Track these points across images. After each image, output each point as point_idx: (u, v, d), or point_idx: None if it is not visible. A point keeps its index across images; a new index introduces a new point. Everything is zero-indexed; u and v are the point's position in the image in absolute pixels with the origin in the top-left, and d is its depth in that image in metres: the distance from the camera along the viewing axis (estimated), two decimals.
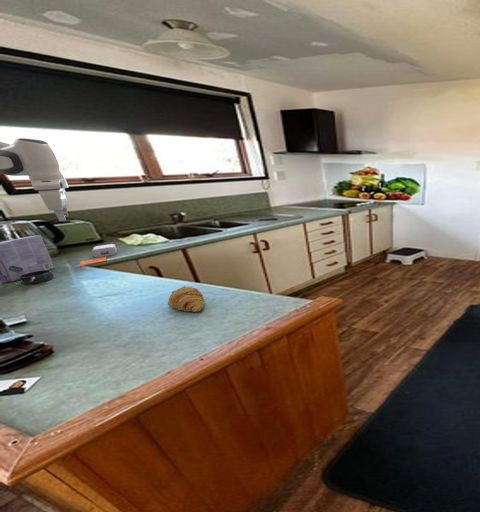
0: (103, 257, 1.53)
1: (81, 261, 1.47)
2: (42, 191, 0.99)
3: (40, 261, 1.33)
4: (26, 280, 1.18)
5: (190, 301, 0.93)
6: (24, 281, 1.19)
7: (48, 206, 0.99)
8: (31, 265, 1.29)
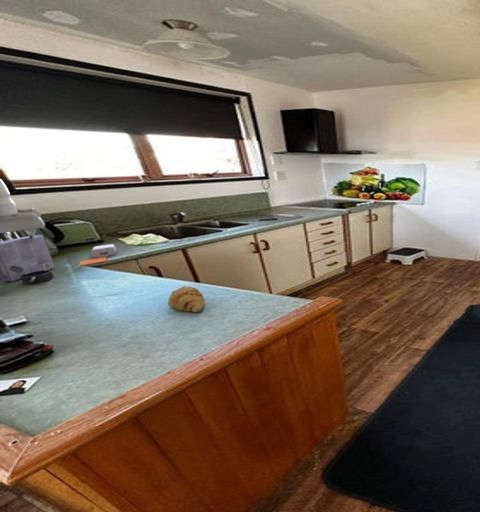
0: (103, 257, 1.53)
1: (81, 261, 1.47)
2: None
3: (40, 261, 1.33)
4: (26, 280, 1.18)
5: (190, 301, 0.93)
6: (24, 281, 1.19)
7: None
8: (32, 265, 1.29)
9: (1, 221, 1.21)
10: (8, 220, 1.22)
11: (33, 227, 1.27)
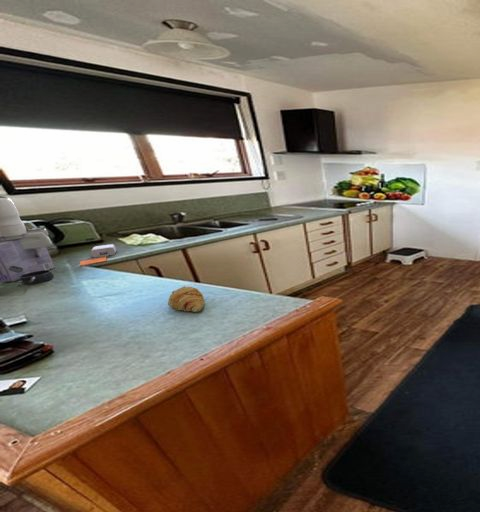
0: (103, 257, 1.53)
1: (81, 261, 1.47)
2: None
3: (40, 261, 1.33)
4: (26, 280, 1.18)
5: (190, 301, 0.93)
6: (24, 281, 1.19)
7: None
8: (31, 265, 1.29)
9: None
10: None
11: (41, 246, 1.30)
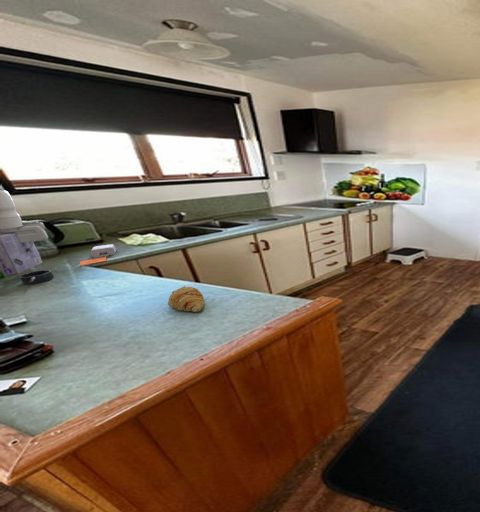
0: (103, 257, 1.53)
1: (81, 261, 1.47)
2: None
3: (32, 255, 1.31)
4: (26, 280, 1.18)
5: (190, 301, 0.93)
6: (24, 281, 1.19)
7: None
8: (27, 259, 1.28)
9: (5, 233, 1.22)
10: (12, 232, 1.24)
11: (36, 239, 1.29)
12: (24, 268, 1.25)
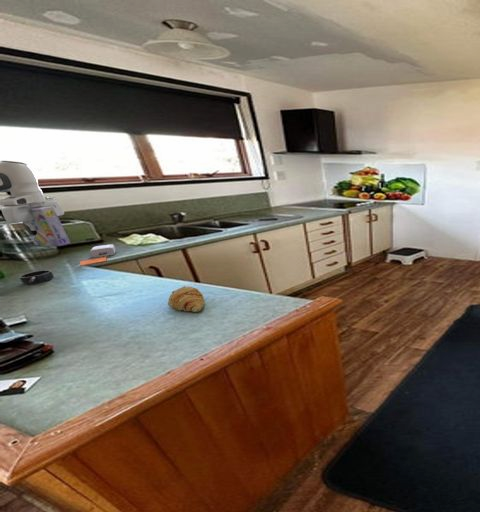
0: (103, 257, 1.53)
1: (81, 261, 1.47)
2: (4, 206, 1.15)
3: None
4: (26, 280, 1.18)
5: (190, 301, 0.93)
6: (24, 281, 1.19)
7: (5, 219, 1.15)
8: None
9: None
10: None
11: (58, 214, 1.31)
12: None
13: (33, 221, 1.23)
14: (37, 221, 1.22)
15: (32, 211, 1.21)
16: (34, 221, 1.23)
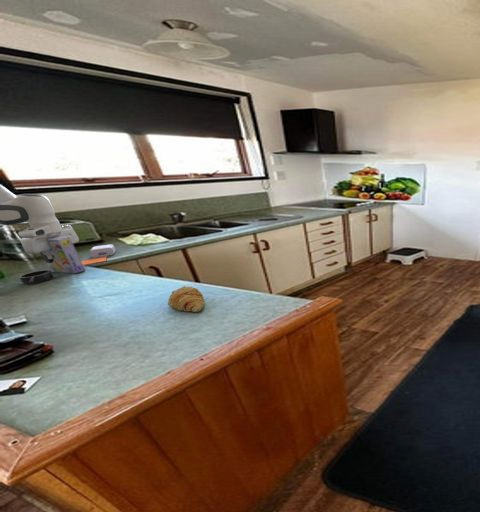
0: (103, 257, 1.53)
1: (81, 261, 1.47)
2: (23, 238, 1.20)
3: None
4: (26, 280, 1.18)
5: (190, 301, 0.93)
6: (24, 281, 1.19)
7: (25, 250, 1.20)
8: None
9: None
10: None
11: (73, 242, 1.36)
12: None
13: (50, 250, 1.28)
14: (54, 250, 1.27)
15: (49, 241, 1.26)
16: (51, 250, 1.28)
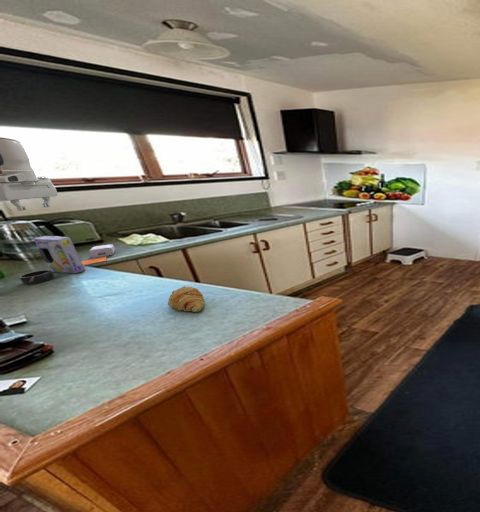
0: (103, 257, 1.53)
1: (81, 261, 1.47)
2: None
3: None
4: (26, 280, 1.18)
5: (191, 301, 0.93)
6: (24, 281, 1.19)
7: None
8: None
9: (26, 187, 1.20)
10: (31, 186, 1.22)
11: (50, 195, 1.29)
12: None
13: (50, 250, 1.28)
14: (54, 250, 1.27)
15: (49, 241, 1.26)
16: (51, 250, 1.28)
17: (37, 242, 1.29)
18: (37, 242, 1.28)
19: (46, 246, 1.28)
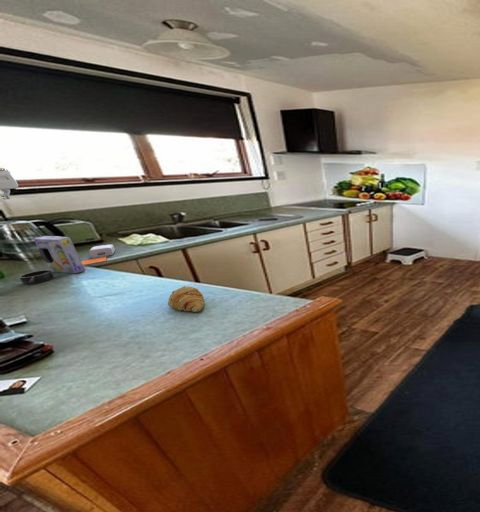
0: (103, 257, 1.53)
1: (81, 261, 1.47)
2: None
3: None
4: (26, 280, 1.18)
5: (191, 301, 0.93)
6: (24, 281, 1.19)
7: None
8: None
9: None
10: None
11: (10, 187, 1.27)
12: None
13: (50, 250, 1.28)
14: (54, 250, 1.27)
15: (49, 241, 1.26)
16: (51, 250, 1.28)
17: (37, 242, 1.29)
18: (37, 242, 1.28)
19: (46, 246, 1.28)
